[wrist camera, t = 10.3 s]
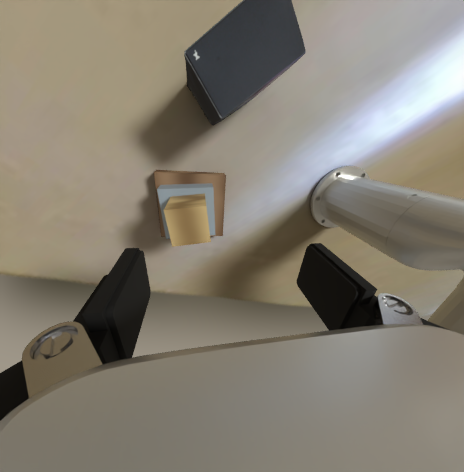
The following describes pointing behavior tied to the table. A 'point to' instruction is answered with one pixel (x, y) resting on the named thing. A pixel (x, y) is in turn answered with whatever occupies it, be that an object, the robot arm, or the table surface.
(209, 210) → the tower top
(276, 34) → the small box
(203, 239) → the block
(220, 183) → the tower base
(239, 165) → the table surface
